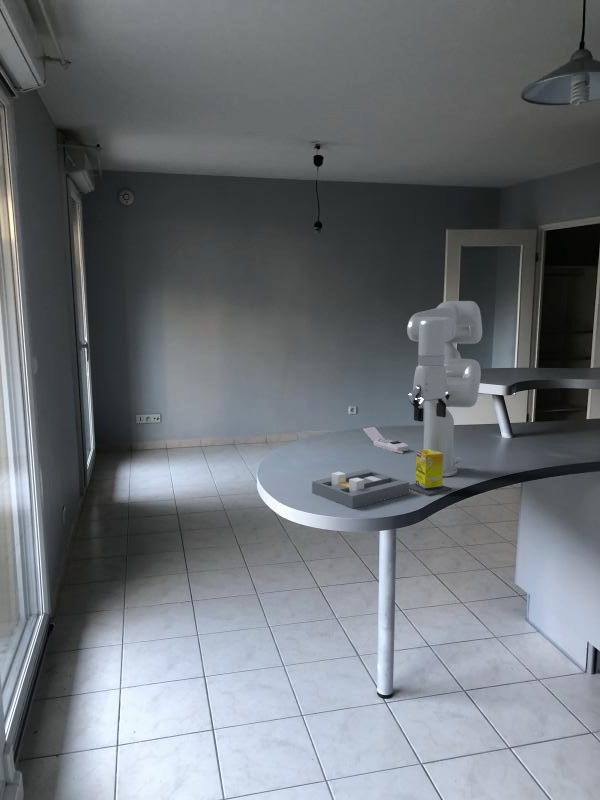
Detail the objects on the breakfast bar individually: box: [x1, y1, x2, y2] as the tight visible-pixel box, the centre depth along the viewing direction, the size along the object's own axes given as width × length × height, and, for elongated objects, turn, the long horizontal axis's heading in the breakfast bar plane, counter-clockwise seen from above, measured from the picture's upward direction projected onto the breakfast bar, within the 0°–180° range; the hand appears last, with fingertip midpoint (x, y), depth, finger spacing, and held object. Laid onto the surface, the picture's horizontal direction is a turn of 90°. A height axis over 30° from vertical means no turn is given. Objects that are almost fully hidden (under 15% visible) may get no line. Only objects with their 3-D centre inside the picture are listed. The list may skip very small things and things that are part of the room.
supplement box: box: [415, 449, 444, 491], centre depth 188 cm, size 6×6×11 cm
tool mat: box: [409, 482, 453, 497], centre depth 189 cm, size 10×10×1 cm
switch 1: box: [331, 471, 347, 485], centre depth 184 cm, size 3×3×4 cm
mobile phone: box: [362, 426, 409, 455], centre depth 243 cm, size 6×6×25 cm
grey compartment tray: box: [311, 469, 410, 510], centre depth 184 cm, size 22×18×4 cm
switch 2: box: [349, 478, 364, 492], centre depth 178 cm, size 3×3×4 cm
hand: (429, 418), depth 186 cm, fingers open, 9 cm apart
